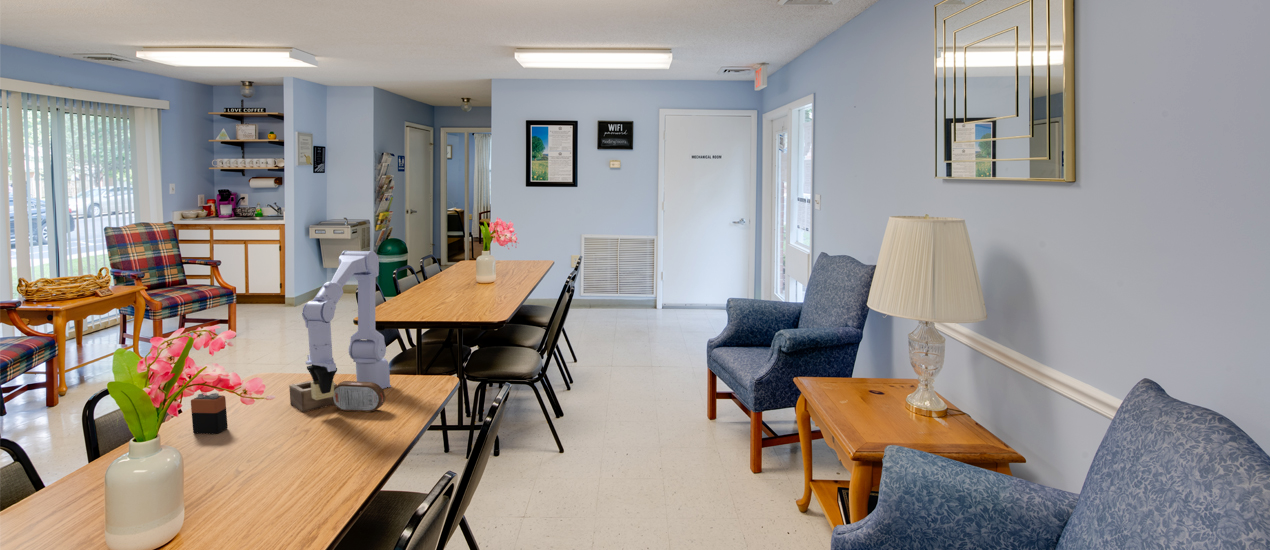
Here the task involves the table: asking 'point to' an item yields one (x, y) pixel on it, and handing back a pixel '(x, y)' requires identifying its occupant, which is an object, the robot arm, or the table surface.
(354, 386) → the tin
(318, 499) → the table surface
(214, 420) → the battery
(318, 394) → the olive yellow block
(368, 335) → the robot arm
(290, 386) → the coin box
